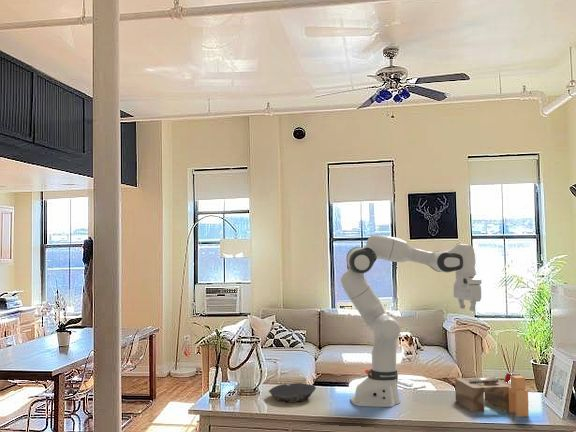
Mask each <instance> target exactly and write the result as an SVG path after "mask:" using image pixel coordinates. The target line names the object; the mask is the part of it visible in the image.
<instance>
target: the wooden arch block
mask: <svg viewBox="0 0 576 432" xmlns="http://www.w3.org/2000/svg"><path fill="white" fill-rule="evenodd" d="M454 383H455V391H454V392H455V401H456V402H458V403H459V404H461V405H462V406H463V407H465V408H467V409H468V410H469V409H470V411H471V412H472V413H473V412H474V413H476V412H477V413H478V412H479V413H481V412H485V401H487V402H488V403H491V404H492V405H493V406H495V407H497V408H499V409H500V410H502V411H509V389H508V387H511V385H510V384H508V383H506V382H505V380H504V381H503V380H501V379H500V378H498V377H495V376H487V377H486V376H484V377H483V376H482V377H460V378H459V377H458V378H457V377H456V378H454ZM479 384H483V385H479Z"/></svg>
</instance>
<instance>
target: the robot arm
mask: <svg viewBox="0 0 576 432" xmlns="http://www.w3.org/2000/svg"><path fill="white" fill-rule="evenodd" d="M377 260H383V261H388V262H394V263H405V262H413V263H418V264H422V265H426V266H428V267H430V268H431V269H432V270H434V271H435V272H438V273H448V274H449V273H452V272H455V282H454V283H453V297H454V298H455V299H457V300H458V304H459V309H462V310H465V308H466V304H465V302H464V301H468V302H469V303H470V306H469V312H475V311H476V304H477V302H481V300H482V286H481V285H482V279H481V278H480V277H479V276H478V275H477V272H476V271H477V270H476V254H475V248H474V247H473V246H472V245H471V244H467V243H456V244H455V245H454V246H453V247H451V248H448V249H446V250H444V251H443V250H435V251H428V250H422V249H419V248H415V247H412V246H411V245H410V243H408V242H407V241H406V240H403V239H400V238H398V237H393V236H388V235H383V234H381V235H380V234H373V235H370V237H368V239H367V240H366V243H365V245H364V246H363V247H361V246H356V247H353V248H351V249H350V250H349V251H348V252H347V254H346V269H347V271H345V272H344V273H343V274H342V275H341V277H340V283H341V285H342V288H343V290H344V292H345V294H346V295H347V297H348V298H349V300H350V301H351V302H352V304H353V306H354V308H355V309H356V310H357V312H358V313H359V315H360V316H361V319H362V320H363V322H364V323H365V325H366V327H368V329H369V331H370V333H371V334H373V335H374V340H373V345H372V349H371V368H370V369H368V368H366V369H365V370H364V373H365V374H366V375H367V377H366V378H365V379H364V380H363V381H361V382H360V383H359V384H357V386H356V388H355V392H354V393H355V394H354V395H351V396H350V399H349V400H350V402H351V403H352V404H353V405H355V406H357V407H374V408H375V407H379V408H382V407H384V408H385V407H387V408H391V407H394V406H395V405H398V404H400V403H401V399H400V395H399V394H400V393H399V389H398V379H399V377H398V375H399V373H398V369H397V349H398V345H399V336H400V334H401V327H400V324H399V322H398V321H397V320H396V319H395V318H394V317H392V316H390V314H388V313H387V312H386V310H385V308H384V306H383V304H382V303H381V300H380V298H379V297H378V296H377V294H376V292H375V291H374V290H373V288H372V286H371V285H370V283H369V282H368V281H367V280H366V278H365V273H367V272H369V271H370V270H371V269H372V267H373V266H374V264H375V263H376V261H377Z"/></svg>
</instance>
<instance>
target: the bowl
mask: <svg viewBox="0 0 576 432" xmlns="http://www.w3.org/2000/svg"><path fill="white" fill-rule="evenodd" d="M316 389H317V386H315V385H314V384H307V383H302V382H295V383H290V384H286V383H285V384H279V385H278V384H277V385H276V386H273V387H272V388H270V389H269V390H268V393H270V395H271V396H272V397H274V398H275V399H276V400H278V402H284V403H286V404H287V403H290V402H293V403H301V402H302V401H306V400H307V401H308V399H309V397H311V396H312V394H313V393H314V392H315V391H316Z"/></svg>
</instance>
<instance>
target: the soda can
mask: <svg viewBox="0 0 576 432" xmlns="http://www.w3.org/2000/svg"><path fill="white" fill-rule="evenodd" d="M518 375H520V376H521V373H520V372H518V371H512V376H518ZM510 376H511V371H510V373H509V371H506V374H505V376H504V382H507V383H508V381H509V380H510Z"/></svg>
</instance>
